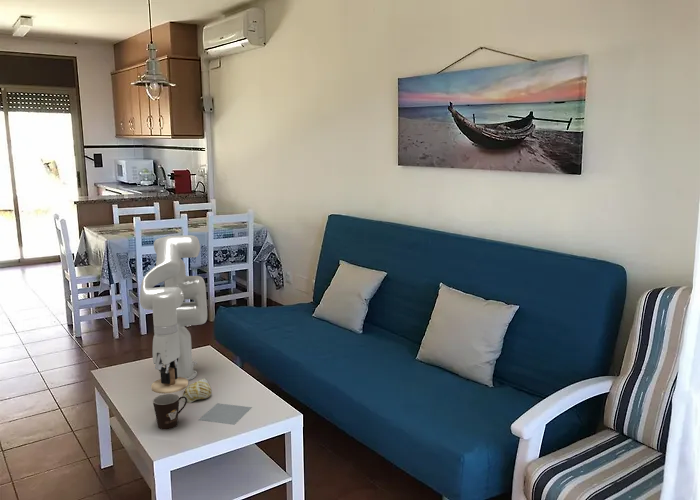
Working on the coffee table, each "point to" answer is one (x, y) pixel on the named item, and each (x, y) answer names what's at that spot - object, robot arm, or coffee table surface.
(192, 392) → the seashell
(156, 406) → the coffee mug
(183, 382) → the lid
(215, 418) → the mat
